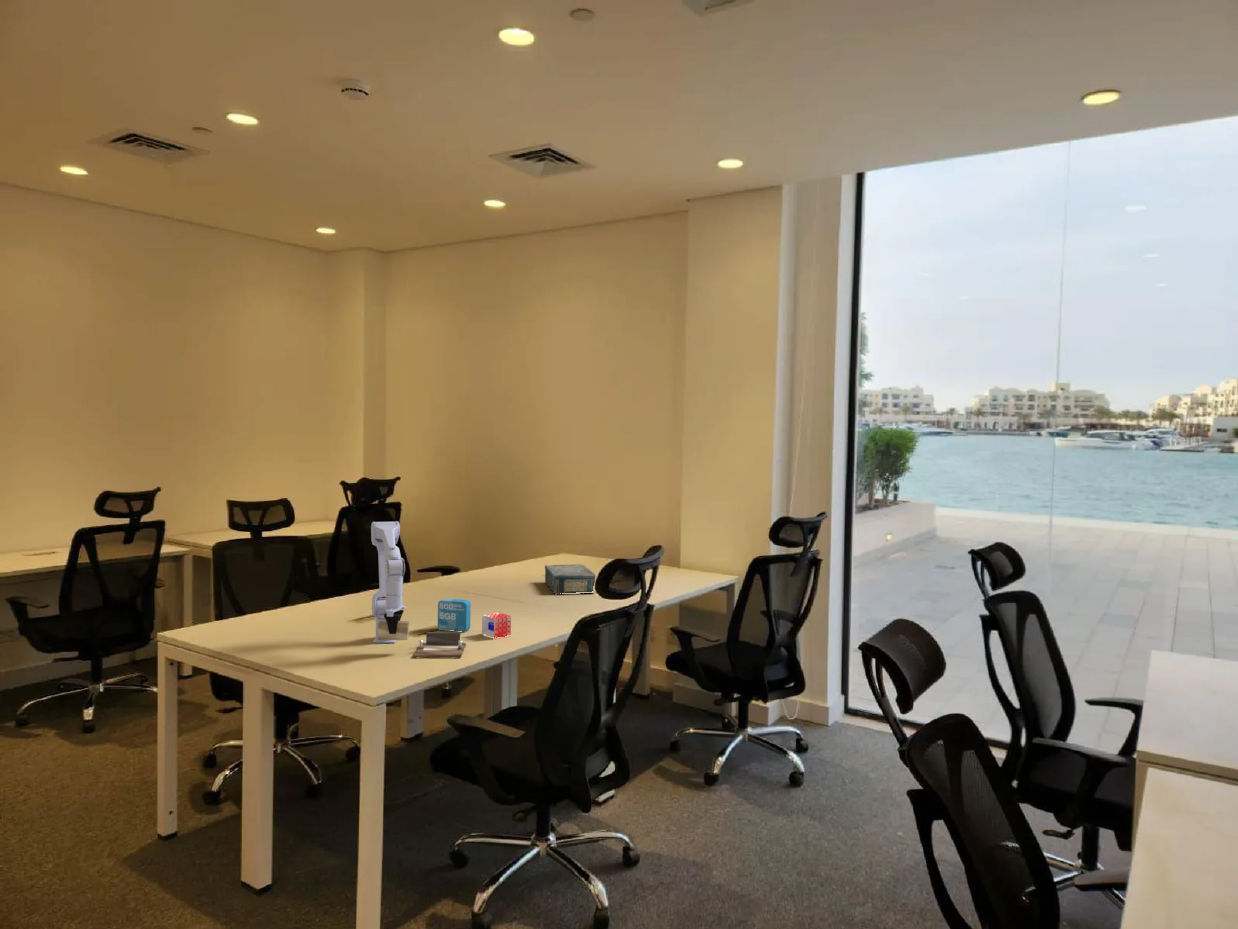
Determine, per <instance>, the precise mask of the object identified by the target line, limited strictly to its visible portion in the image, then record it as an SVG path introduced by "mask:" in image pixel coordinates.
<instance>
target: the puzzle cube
mask: <svg viewBox="0 0 1238 929" xmlns="http://www.w3.org/2000/svg"><path fill="white" fill-rule="evenodd" d="M482 634H486V635H487V636H490V637H494V638H495V637H496V638H497V637H504V638H506V637H505V636H507V635H512V615H511V614H506V613H501V612H499V611H498V612H493V613H486V614H482V616H481V635H482Z"/></svg>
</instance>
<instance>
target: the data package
mask: <svg viewBox="0 0 1238 929" xmlns="http://www.w3.org/2000/svg"><path fill="white" fill-rule="evenodd" d="M471 608H472V605H471V601H470V600H469V599H461V598H448V597H446V598H445V597H444V598H443V599H440V600H439V601H438V602H437V629H438V631H440V630H454V631H462V632H461V633H465V632H467V631H468V630H470V629H471V616H472V614H471V613H472V612H471V611H472V610H471ZM466 630H467V631H466Z"/></svg>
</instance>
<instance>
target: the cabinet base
mask: <svg viewBox="0 0 1238 929" xmlns="http://www.w3.org/2000/svg"><path fill="white" fill-rule="evenodd" d="M425 635H426V638H425V642H423V649H419V646H418V647H417V649H416V651H415V652H414V654H413V658H414V657H461V658H462V656H463V654H464V651H465V649H464V648H466V646H467V643H466V642H462V649H458V640H461V632H451V631H444V632H443V631H440V632H439V631H438V632H433V631H432V632H431V631H429V632H426V633H425Z"/></svg>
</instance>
